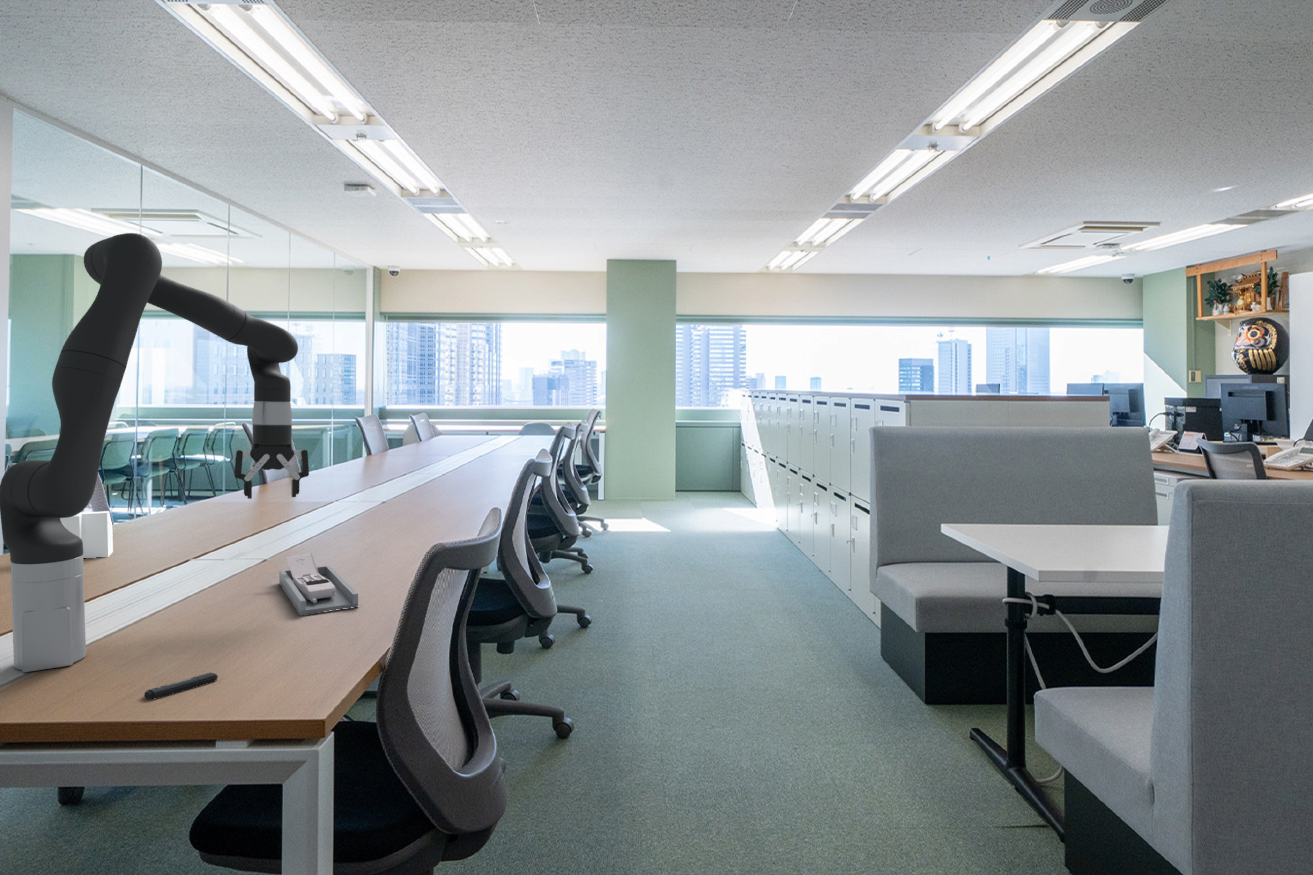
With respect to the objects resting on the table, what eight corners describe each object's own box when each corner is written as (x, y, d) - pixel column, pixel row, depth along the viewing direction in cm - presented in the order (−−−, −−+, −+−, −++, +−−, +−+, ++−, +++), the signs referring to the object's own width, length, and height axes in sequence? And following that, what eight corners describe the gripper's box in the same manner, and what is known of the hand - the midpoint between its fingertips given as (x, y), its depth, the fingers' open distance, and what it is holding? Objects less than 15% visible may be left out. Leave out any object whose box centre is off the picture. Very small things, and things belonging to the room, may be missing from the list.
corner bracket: (54, 563, 189) (53, 517, 188) (64, 555, 199) (63, 510, 198) (106, 559, 194) (104, 514, 193) (113, 551, 204) (111, 508, 203)
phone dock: (358, 607, 155) (358, 593, 155) (300, 615, 148) (300, 601, 148) (329, 577, 179) (329, 565, 179) (279, 583, 173) (279, 570, 173)
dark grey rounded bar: (211, 678, 117) (210, 669, 116) (219, 683, 115) (219, 673, 115) (143, 698, 109) (142, 688, 109) (151, 703, 107) (151, 692, 107)
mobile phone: (312, 552, 175) (339, 573, 155) (313, 577, 175) (340, 601, 155) (284, 556, 171) (308, 577, 151) (285, 581, 172) (309, 606, 152)
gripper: (235, 422, 152) (235, 501, 153) (310, 423, 160) (310, 498, 161) (233, 422, 159) (233, 497, 159) (306, 422, 166) (305, 494, 167)
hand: (272, 497), depth 160 cm, fingers open, 8 cm apart
